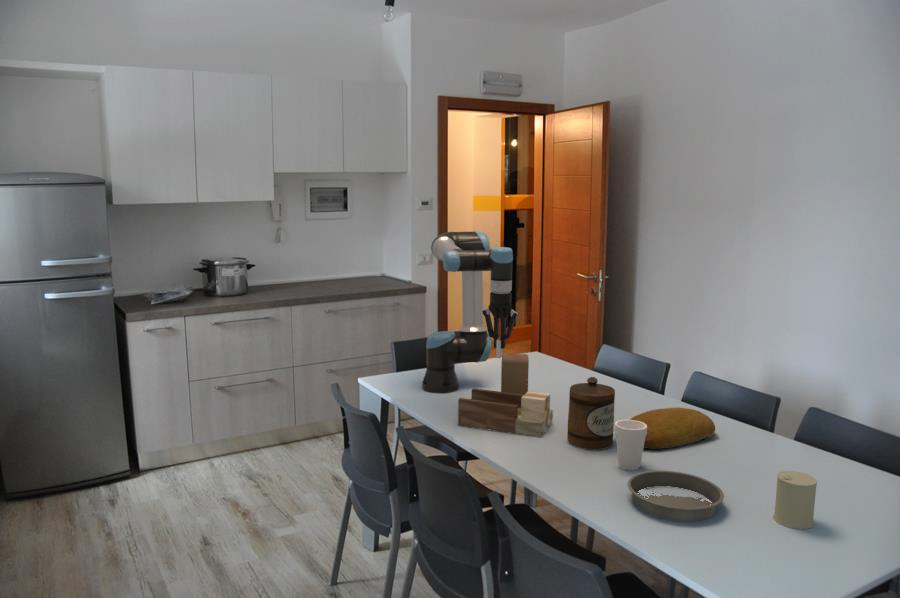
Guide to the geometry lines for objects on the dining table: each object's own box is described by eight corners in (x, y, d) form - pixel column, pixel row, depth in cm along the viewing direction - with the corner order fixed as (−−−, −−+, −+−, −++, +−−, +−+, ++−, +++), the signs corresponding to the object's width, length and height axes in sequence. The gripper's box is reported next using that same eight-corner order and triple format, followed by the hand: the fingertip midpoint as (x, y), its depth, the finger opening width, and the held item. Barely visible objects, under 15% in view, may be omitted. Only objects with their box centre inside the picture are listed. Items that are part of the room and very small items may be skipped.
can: (766, 513, 186) (770, 469, 184) (800, 512, 187) (804, 468, 185) (785, 530, 177) (789, 484, 175) (821, 528, 178) (825, 483, 176)
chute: (473, 413, 266) (473, 388, 264) (552, 423, 254) (552, 397, 253) (458, 425, 252) (458, 399, 250) (541, 437, 241) (541, 410, 239)
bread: (725, 439, 241) (727, 410, 239) (645, 456, 225) (646, 425, 224) (685, 423, 257) (687, 396, 255) (607, 437, 241) (608, 409, 240)
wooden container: (597, 453, 227) (600, 386, 223) (558, 442, 237) (560, 377, 233) (621, 441, 237) (624, 377, 234) (582, 431, 247) (585, 369, 244)
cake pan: (743, 518, 184) (744, 501, 183) (659, 530, 177) (660, 513, 176) (686, 480, 207) (687, 465, 206) (610, 490, 200) (610, 474, 199)
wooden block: (527, 404, 277) (528, 353, 274) (527, 412, 267) (528, 360, 264) (501, 403, 278) (502, 352, 275) (500, 411, 268) (501, 359, 265)
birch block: (527, 410, 253) (528, 391, 252) (549, 413, 250) (550, 393, 249) (520, 417, 246) (521, 397, 245) (543, 420, 243) (544, 400, 242)
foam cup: (627, 474, 211) (629, 431, 209) (606, 463, 219) (608, 422, 217) (651, 468, 215) (653, 427, 213) (630, 458, 223) (632, 418, 221)
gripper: (479, 292, 249) (478, 357, 254) (515, 294, 244) (513, 361, 249) (486, 288, 256) (485, 352, 260) (521, 291, 251) (519, 356, 256)
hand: (499, 357), depth 255 cm, fingers closed
